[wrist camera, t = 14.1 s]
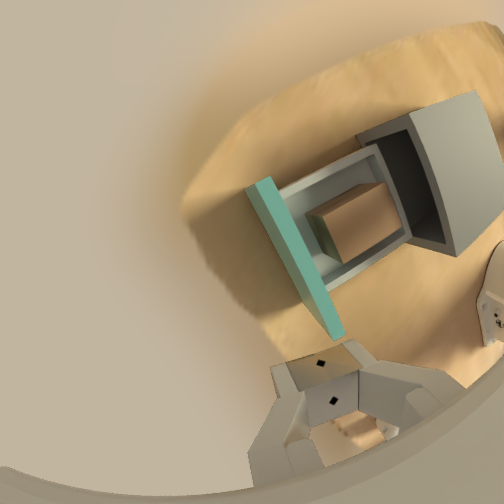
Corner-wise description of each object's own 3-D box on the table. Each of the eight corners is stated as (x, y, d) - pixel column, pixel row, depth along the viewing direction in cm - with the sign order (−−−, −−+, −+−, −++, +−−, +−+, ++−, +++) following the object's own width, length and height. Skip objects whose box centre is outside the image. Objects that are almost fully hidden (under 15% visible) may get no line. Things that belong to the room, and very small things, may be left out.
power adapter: (426, 390, 37) (443, 406, 31) (418, 408, 38) (433, 425, 32) (378, 406, 36) (395, 427, 30) (371, 425, 36) (385, 446, 31)
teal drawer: (399, 244, 30) (447, 259, 21) (304, 304, 30) (333, 341, 21) (354, 136, 27) (399, 117, 18) (243, 189, 27) (254, 183, 18)
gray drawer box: (459, 197, 30) (511, 201, 21) (399, 241, 30) (456, 257, 20) (425, 107, 28) (476, 90, 18) (355, 135, 27) (408, 113, 17)
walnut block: (375, 221, 27) (402, 226, 22) (322, 253, 27) (343, 264, 22) (359, 183, 26) (385, 181, 21) (304, 213, 26) (322, 216, 21)
